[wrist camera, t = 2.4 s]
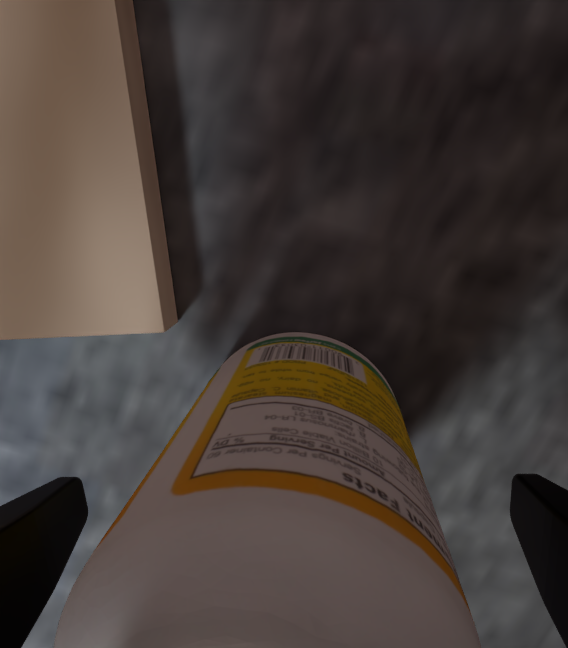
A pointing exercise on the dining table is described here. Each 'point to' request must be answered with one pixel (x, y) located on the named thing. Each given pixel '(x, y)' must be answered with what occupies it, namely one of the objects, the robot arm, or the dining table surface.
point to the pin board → (78, 176)
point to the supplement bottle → (277, 521)
